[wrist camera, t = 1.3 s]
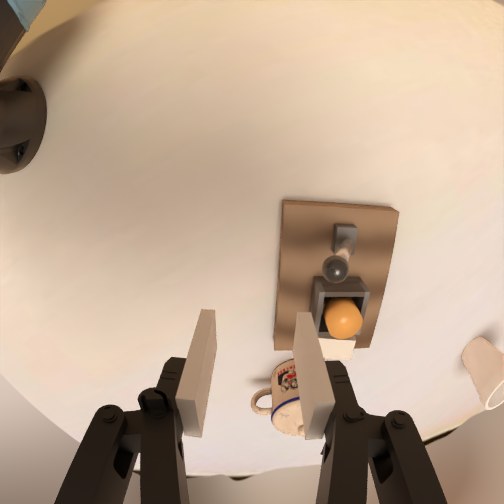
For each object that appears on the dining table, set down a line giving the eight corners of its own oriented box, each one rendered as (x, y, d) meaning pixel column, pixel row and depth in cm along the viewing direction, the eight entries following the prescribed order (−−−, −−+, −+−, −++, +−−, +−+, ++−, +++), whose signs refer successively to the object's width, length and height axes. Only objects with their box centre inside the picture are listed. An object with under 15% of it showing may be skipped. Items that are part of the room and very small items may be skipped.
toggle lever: (338, 231, 31) (320, 258, 24) (360, 235, 30) (349, 263, 23) (336, 252, 32) (317, 284, 25) (357, 256, 31) (344, 290, 24)
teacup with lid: (326, 352, 42) (342, 409, 32) (323, 391, 46) (335, 444, 35) (248, 360, 43) (246, 419, 32) (254, 397, 46) (253, 452, 35)
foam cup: (495, 335, 42) (528, 372, 30) (470, 369, 45) (498, 409, 33) (474, 326, 41) (511, 368, 29) (447, 364, 44) (476, 409, 32)
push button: (325, 295, 33) (331, 309, 30) (358, 295, 32) (366, 308, 30) (320, 324, 34) (325, 339, 31) (351, 323, 34) (358, 338, 31)
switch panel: (282, 200, 34) (288, 212, 28) (390, 207, 34) (414, 220, 28) (273, 339, 41) (275, 369, 35) (364, 337, 41) (377, 365, 35)
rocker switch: (306, 332, 36) (306, 336, 35) (355, 336, 35) (356, 340, 34) (303, 351, 38) (303, 356, 37) (350, 354, 36) (350, 359, 36)
